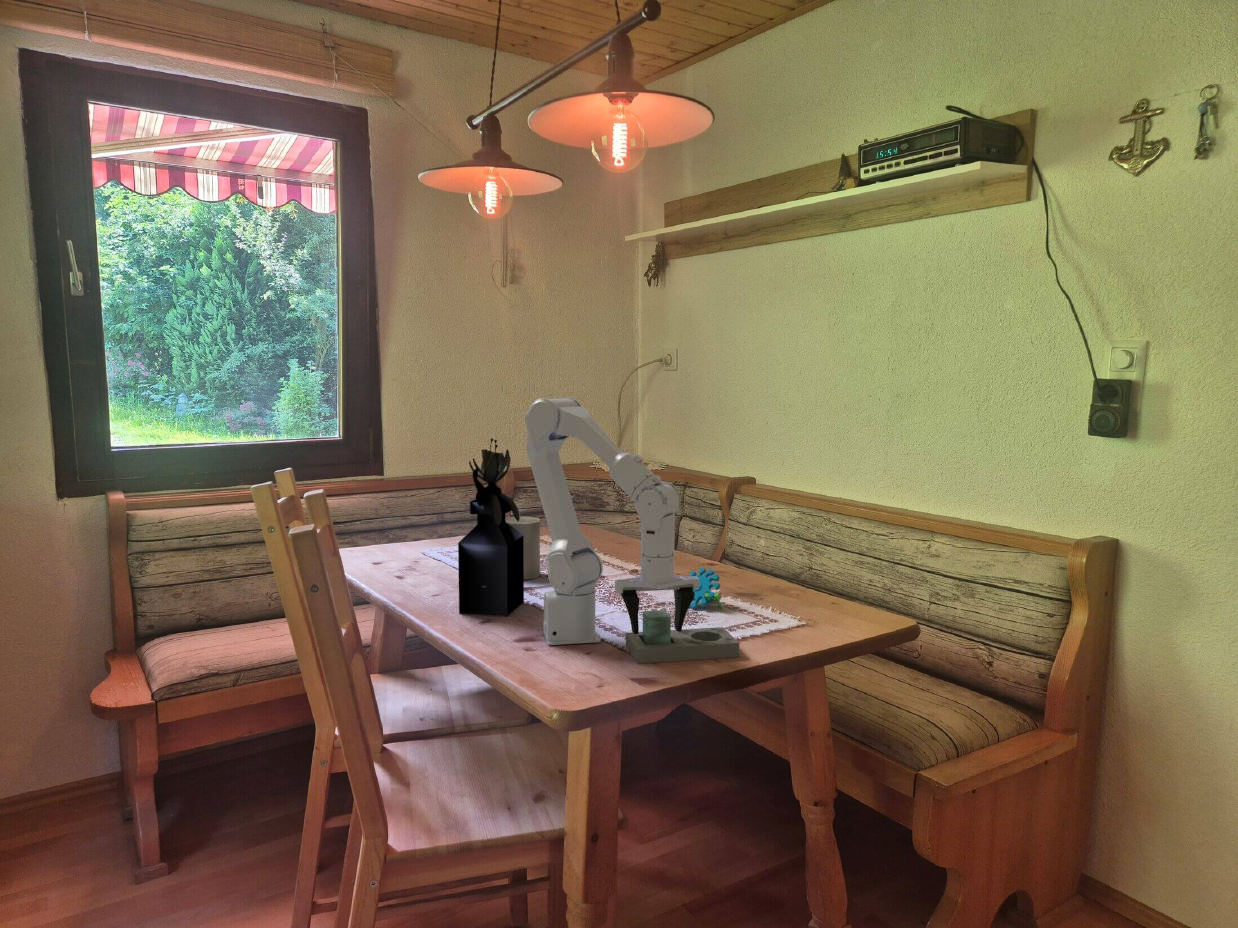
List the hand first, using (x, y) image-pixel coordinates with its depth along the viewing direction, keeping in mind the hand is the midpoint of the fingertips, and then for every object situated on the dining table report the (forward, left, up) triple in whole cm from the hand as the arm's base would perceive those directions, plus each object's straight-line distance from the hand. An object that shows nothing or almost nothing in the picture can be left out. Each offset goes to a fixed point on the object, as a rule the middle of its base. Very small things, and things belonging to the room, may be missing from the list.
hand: (656, 631), depth 143 cm
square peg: (0, 0, -4) cm, 4 cm away
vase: (-26, +33, -4) cm, 43 cm away
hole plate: (+4, 0, -4) cm, 6 cm away
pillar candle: (-18, +60, -4) cm, 63 cm away
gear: (+16, +27, -4) cm, 32 cm away
